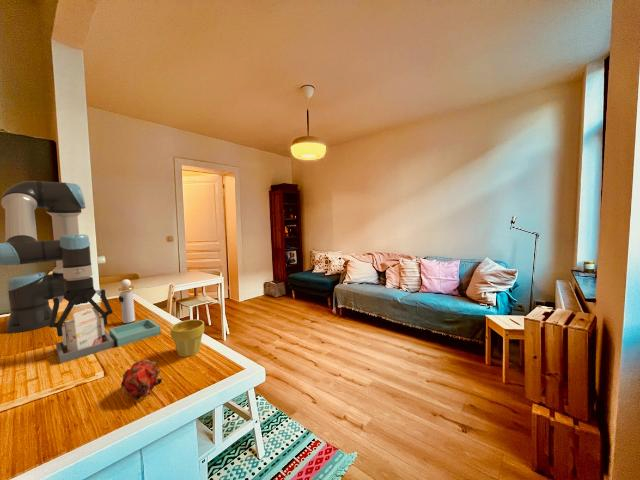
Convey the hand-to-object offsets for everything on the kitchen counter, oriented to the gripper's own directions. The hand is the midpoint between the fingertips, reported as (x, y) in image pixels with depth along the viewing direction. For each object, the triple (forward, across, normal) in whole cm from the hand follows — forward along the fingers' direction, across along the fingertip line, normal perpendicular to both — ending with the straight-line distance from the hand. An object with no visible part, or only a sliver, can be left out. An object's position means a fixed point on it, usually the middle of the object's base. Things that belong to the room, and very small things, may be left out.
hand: (84, 338), depth 94 cm
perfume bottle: (+4, +17, +17) cm, 24 cm away
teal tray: (+4, +15, -1) cm, 15 cm away
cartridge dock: (+4, 0, 0) cm, 4 cm away
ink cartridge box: (+4, 0, 0) cm, 4 cm away
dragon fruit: (+4, +6, -45) cm, 46 cm away
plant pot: (+4, +23, -33) cm, 40 cm away
